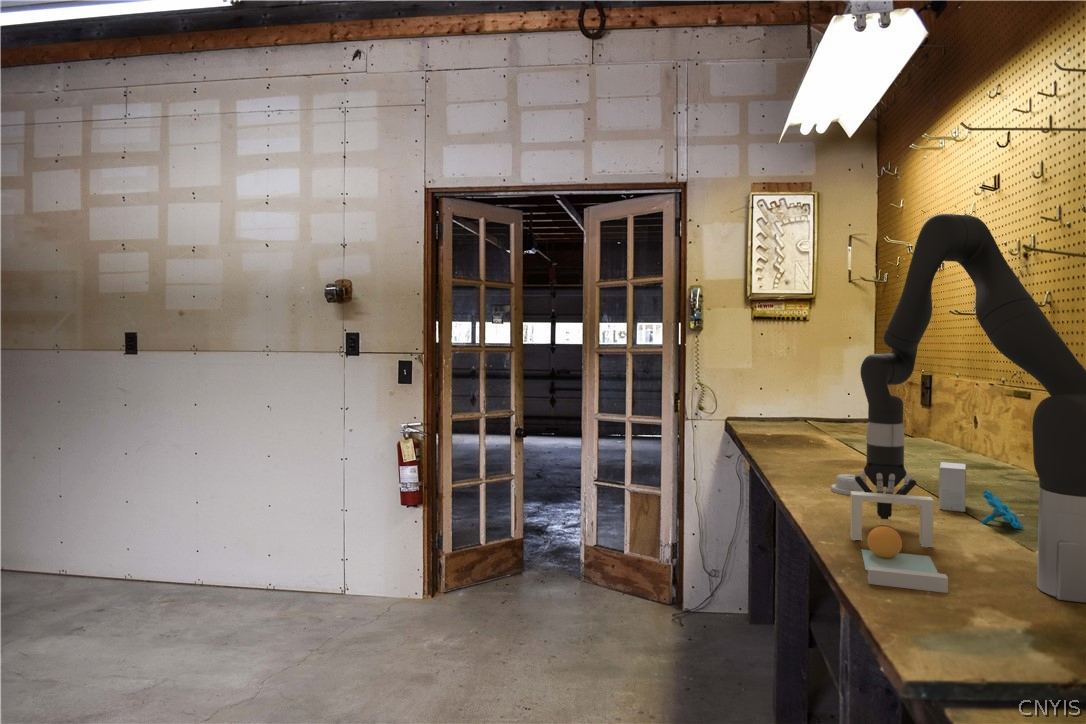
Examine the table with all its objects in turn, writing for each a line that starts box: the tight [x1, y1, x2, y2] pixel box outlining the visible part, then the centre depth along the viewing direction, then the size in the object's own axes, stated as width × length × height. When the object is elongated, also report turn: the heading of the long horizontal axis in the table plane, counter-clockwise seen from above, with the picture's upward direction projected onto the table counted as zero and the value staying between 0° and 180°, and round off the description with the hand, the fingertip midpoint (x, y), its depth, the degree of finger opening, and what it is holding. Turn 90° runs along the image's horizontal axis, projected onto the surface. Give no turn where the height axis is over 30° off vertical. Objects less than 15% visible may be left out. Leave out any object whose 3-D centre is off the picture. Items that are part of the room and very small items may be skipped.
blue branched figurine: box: [981, 489, 1023, 530], centre depth 152 cm, size 11×6×10 cm
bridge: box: [850, 491, 935, 549], centre depth 140 cm, size 3×15×10 cm, turn 68°
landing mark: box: [860, 549, 939, 574], centre depth 127 cm, size 12×12×1 cm
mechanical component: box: [830, 473, 872, 496], centre depth 184 cm, size 10×4×10 cm
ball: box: [867, 525, 903, 558], centre depth 131 cm, size 6×6×6 cm
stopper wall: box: [867, 566, 949, 594], centre depth 116 cm, size 2×12×2 cm, turn 68°
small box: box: [938, 461, 967, 513], centre depth 166 cm, size 8×6×10 cm
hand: (884, 518), depth 152 cm, fingers closed
